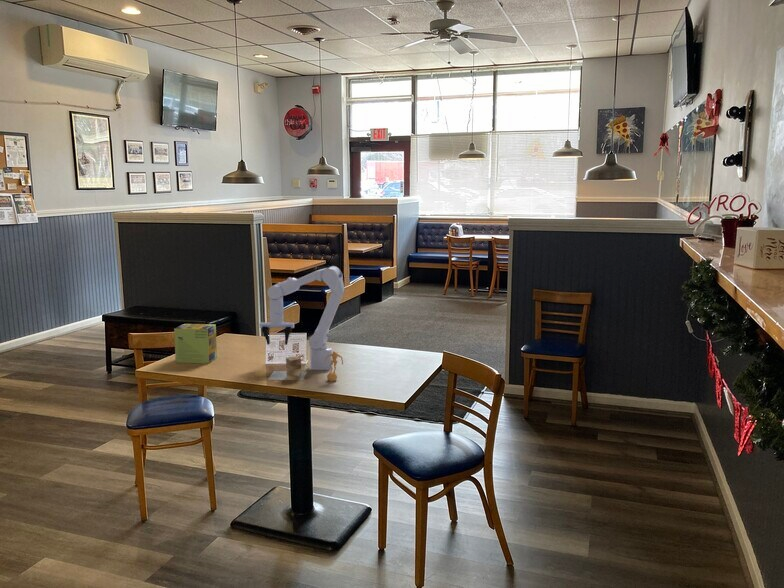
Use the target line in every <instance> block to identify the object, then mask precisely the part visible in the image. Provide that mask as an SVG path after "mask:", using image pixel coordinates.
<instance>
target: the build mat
mask: <svg viewBox="0 0 784 588" xmlns="http://www.w3.org/2000/svg"><path fill="white" fill-rule="evenodd" d="M307 373H308V371H307V370H306V371H304V370H301V377H300V379H299V380H298V381H304V379H305V377H306V375H307ZM267 381H288V380H287V370H273V372H272V373H271V374H270V375H269V377H268V378H267Z"/></svg>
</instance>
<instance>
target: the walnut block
mask: <svg viewBox="0 0 784 588" xmlns="http://www.w3.org/2000/svg"><path fill="white" fill-rule="evenodd" d="M285 364H286V365H285V367H286V369H287V368H288V369H290V370H295V369H301V370H302V358H300V356H299V357H298V356H296V355H295V356H290V357H285Z"/></svg>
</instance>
